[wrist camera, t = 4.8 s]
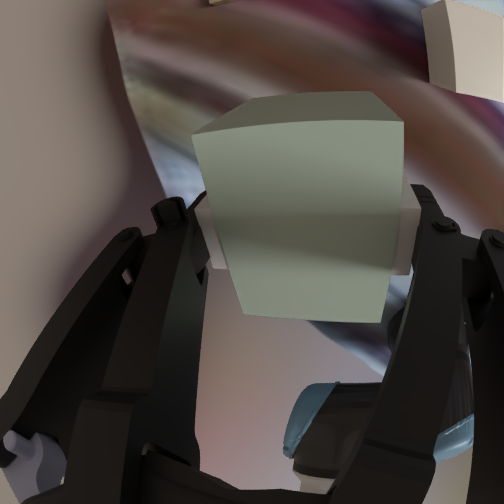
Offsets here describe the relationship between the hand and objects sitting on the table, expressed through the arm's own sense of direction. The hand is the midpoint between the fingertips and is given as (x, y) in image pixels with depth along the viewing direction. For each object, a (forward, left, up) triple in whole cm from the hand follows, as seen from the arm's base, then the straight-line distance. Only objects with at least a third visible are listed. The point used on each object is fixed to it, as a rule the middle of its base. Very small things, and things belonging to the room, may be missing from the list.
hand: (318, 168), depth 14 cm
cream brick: (+8, -14, -15) cm, 22 cm away
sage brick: (0, 0, 0) cm, 0 cm away
